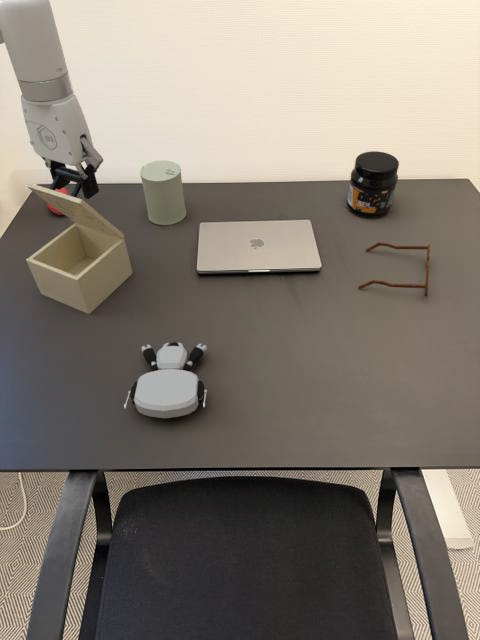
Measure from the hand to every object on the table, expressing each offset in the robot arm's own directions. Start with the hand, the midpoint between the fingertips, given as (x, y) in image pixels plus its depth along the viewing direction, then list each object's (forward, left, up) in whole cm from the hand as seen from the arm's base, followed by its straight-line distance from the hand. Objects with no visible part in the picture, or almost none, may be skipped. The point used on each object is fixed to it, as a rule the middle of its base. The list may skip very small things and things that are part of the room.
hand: (77, 189), depth 85 cm
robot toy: (+24, -25, -19) cm, 40 cm away
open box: (-1, -4, -19) cm, 20 cm away
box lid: (0, -2, -4) cm, 4 cm away
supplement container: (+54, +35, -19) cm, 67 cm away
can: (+7, +23, -19) cm, 31 cm away
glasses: (+60, +11, -19) cm, 64 cm away
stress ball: (-20, +21, -19) cm, 35 cm away
